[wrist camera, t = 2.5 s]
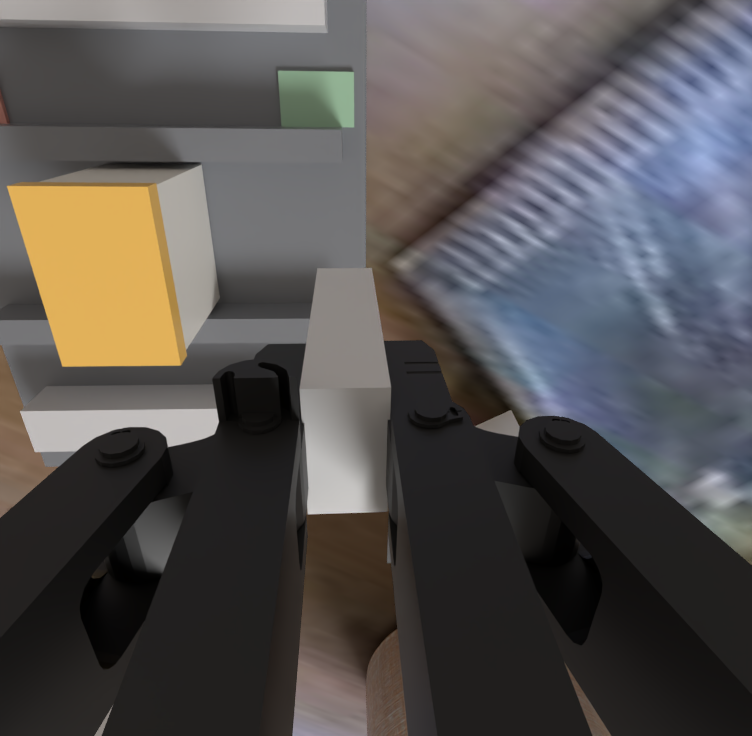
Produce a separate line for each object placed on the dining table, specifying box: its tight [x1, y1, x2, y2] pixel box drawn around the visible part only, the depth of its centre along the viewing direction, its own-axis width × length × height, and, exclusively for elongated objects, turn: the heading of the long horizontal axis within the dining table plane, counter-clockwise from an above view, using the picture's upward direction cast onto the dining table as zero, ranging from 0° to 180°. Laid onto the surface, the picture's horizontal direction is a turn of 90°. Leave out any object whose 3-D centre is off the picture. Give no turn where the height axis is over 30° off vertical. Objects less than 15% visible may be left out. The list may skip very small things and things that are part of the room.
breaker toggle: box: [7, 164, 220, 367], centre depth 20 cm, size 4×6×7 cm
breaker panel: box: [0, 0, 367, 467], centre depth 24 cm, size 18×26×5 cm
